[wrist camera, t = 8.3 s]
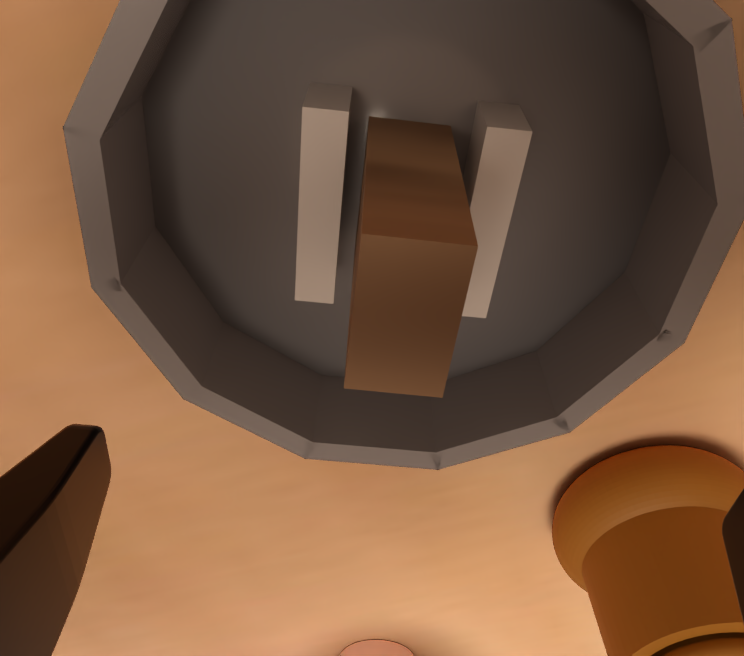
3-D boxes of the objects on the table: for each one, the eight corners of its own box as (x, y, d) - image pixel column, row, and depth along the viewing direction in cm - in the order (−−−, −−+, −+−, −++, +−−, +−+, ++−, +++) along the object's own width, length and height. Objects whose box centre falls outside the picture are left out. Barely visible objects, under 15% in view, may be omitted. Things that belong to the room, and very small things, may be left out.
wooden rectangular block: (427, 250, 18) (442, 397, 13) (355, 242, 18) (344, 387, 13) (450, 125, 16) (478, 245, 11) (369, 115, 16) (361, 233, 11)
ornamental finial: (737, 550, 27) (551, 569, 28) (762, 419, 23) (540, 448, 24) (848, 772, 20) (600, 787, 21) (911, 649, 16) (598, 675, 17)
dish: (587, 403, 22) (616, 485, 19) (153, 365, 22) (119, 443, 19) (790, -107, 14) (895, -94, 11) (85, -196, 13) (2, -208, 10)
